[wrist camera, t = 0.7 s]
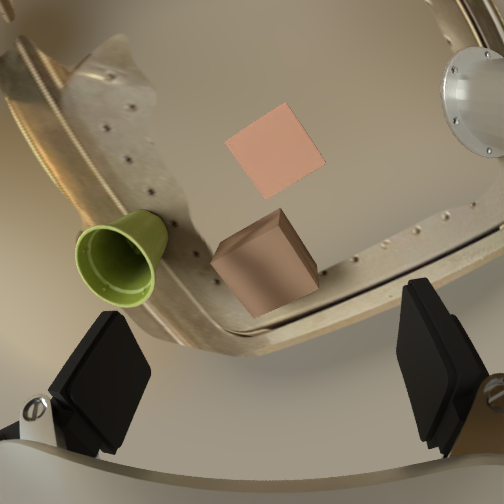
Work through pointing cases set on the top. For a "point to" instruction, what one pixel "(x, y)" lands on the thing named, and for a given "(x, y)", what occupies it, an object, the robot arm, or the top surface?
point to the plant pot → (122, 257)
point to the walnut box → (266, 264)
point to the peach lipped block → (275, 151)
